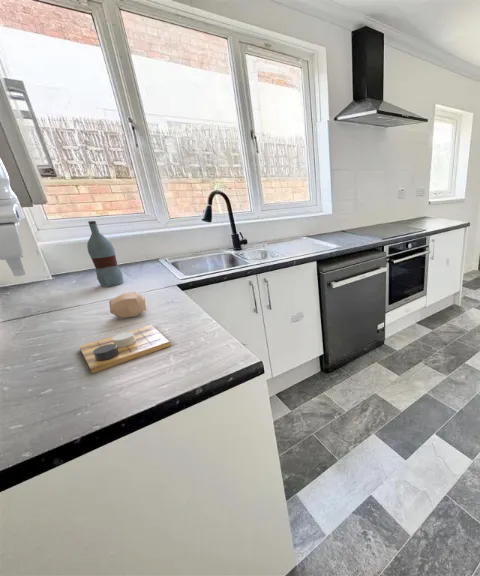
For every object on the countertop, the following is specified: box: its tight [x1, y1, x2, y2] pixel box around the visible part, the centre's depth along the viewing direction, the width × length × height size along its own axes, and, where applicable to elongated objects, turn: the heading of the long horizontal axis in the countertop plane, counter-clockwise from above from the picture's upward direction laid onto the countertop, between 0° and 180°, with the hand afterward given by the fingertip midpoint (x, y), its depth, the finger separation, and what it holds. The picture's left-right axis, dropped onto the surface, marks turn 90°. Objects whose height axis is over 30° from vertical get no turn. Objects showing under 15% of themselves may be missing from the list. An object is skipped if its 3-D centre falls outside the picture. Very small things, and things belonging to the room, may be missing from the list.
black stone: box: [93, 344, 119, 361], centre depth 85 cm, size 5×5×2 cm
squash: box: [108, 291, 147, 319], centre depth 116 cm, size 11×20×9 cm, turn 37°
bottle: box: [86, 220, 124, 288], centre depth 144 cm, size 9×9×30 cm
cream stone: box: [112, 331, 136, 348], centre depth 92 cm, size 5×5×2 cm
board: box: [78, 324, 172, 374], centre depth 92 cm, size 18×18×2 cm
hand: (19, 271), depth 74 cm, fingers open, 8 cm apart
